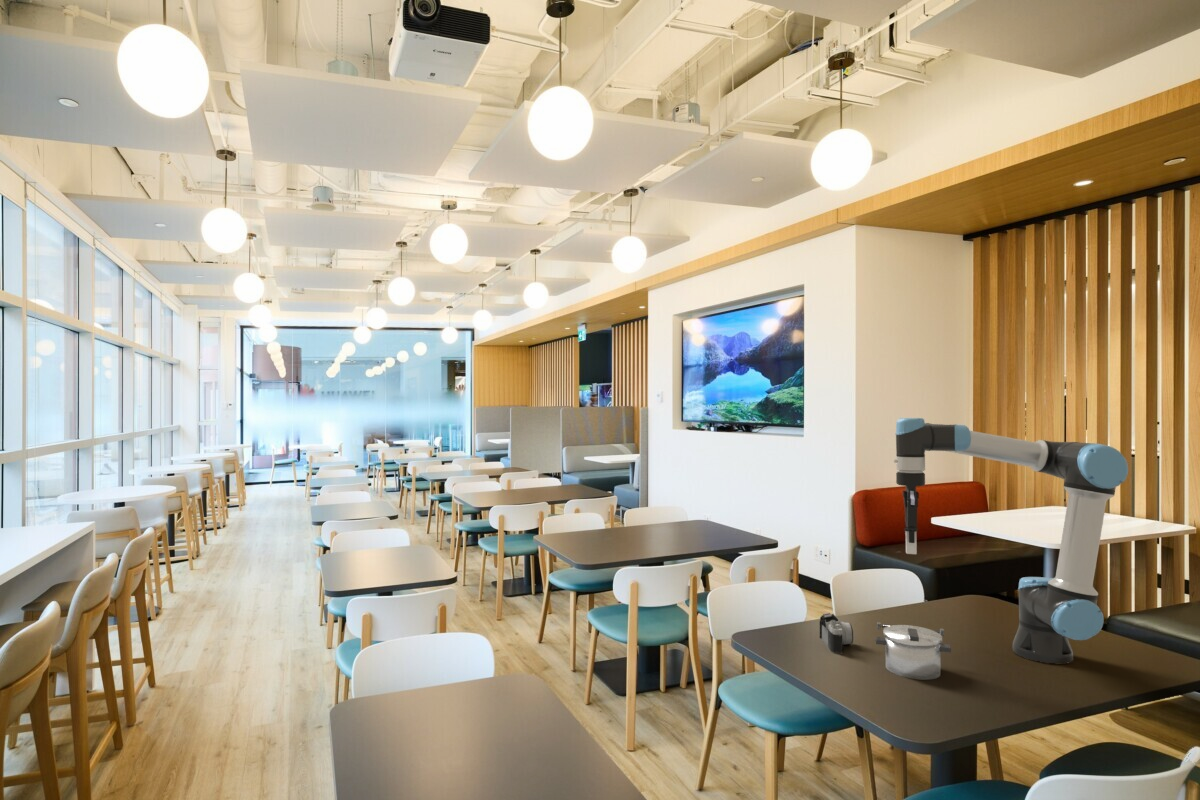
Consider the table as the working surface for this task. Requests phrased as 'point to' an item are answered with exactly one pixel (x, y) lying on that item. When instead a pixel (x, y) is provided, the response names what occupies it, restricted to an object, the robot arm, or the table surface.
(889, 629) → the lid
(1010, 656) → the table surface
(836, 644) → the camera
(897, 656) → the pot
